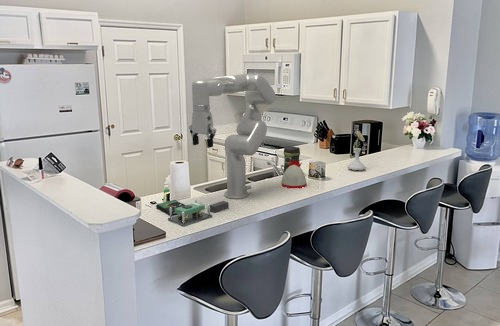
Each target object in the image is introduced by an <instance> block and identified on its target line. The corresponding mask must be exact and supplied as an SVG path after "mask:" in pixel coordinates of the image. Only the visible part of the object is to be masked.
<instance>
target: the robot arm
mask: <svg viewBox="0 0 500 326" xmlns="http://www.w3.org/2000/svg"><path fill="white" fill-rule="evenodd" d="M243 92H245V94H244V100H245V106H246V109H245V111H244V114H243V115H242V117H241V119H240V120H239V121H238V123H237V126H236V129H235V130H236V133H237V134H230V135H228V136H227V137H226V138H225V140H224V150H225V154H226V185H227V187H226V189H227V191H225V192H224V193H223V195H224V197H225V198H228V199H234V200H235V199H237V200H238V199H245V198H247V197H249V196H250V194H249V192H248V190H251V189H252V185H251V184H250V185H246V184H247V183H246V176H247V175H246V173H247V172H246V169H247V168H246V166H247V165H246V158H245V156H249V157H250V156H254V155H255V154H256V153H257V151H259V149H260V146H261V144H262V143H263V141H264V140H265V137H266V135H267V131H268V128H267V127H268V126H267V124H266V122H265V121H264V120H261V118H262V113H261V110H260V107H259V105H267V106H269V105H272V104H273V103H275V101H276V92H275V90H274V88H273V86H272V85H271V84H270V83H269V81H268V80H267V78H265V77H264V76H263V75H262V74H260V73H243V74H241V73H239V74H234V75H226V76H225V75H224V76H218V77H217V76H216V77H207V78H201V79H198V80H193V81H192V83H191V94H192V95H191V97H192V98H191V99H192V113H191V114H192V115H191V124H190V125H189V126H188V130H189V133H190V135H191V138H192V145H193V146H197V145H199V143H200V142H199V140H200V139H199V135H205V136H206V138H207V139H206V147H207V148H208V149H210V148H213V147H214V138H215V136H216V133H217V129H216V128H215V127H214V120H213V115H212V112H211V106H210V104H211V103H210V97H219V96H221V95H223V94H226V95H227V94H228V95H229V94H236V93H243Z"/></svg>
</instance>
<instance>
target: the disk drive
mask: <svg viewBox="0 0 500 326" xmlns="http://www.w3.org/2000/svg"><path fill="white" fill-rule="evenodd" d="M185 205H186V204H184V203H182V202H180V201H178V200H176V199H172V200H168V201H165V202H161V203H156V205H155V208H156V210H158V211H160V212H162V213H164V214H166V215H167V216H169V217H170V207H172V217H174V216H177V215H178V214H176V213H175V208H178V207H182V206H185Z"/></svg>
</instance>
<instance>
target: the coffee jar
mask: <svg viewBox="0 0 500 326" xmlns="http://www.w3.org/2000/svg"><path fill="white" fill-rule="evenodd" d="M300 155H301V149H300V146H299V147H298V146H293V145H292V146H291V145H287V146H284V149H283V156H284V159H283V160H284V161H283V162H284V163H283V175H284V172H285V171H286V169H287V168H288V167H289V166H288V164H289V165H290V161H291V162H292V160H293V159H294V163H295V160H296V161H297V163H298V161H299V162H300ZM287 163H288V164H287ZM283 175H282V176H283Z"/></svg>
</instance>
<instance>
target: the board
mask: <svg viewBox="0 0 500 326" xmlns="http://www.w3.org/2000/svg"><path fill="white" fill-rule="evenodd" d="M184 205H185V206H182V207H178V208H175V213H176V214H179V215H182V212H183V211H184V214H185V216H186V215H189V214H192V213H195V212H198V211H202V212H203V211H205V210H206V205H205V204H203V203H200V202H198V201H197V202H195V201H194V202H192V203H188V204H184Z"/></svg>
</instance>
